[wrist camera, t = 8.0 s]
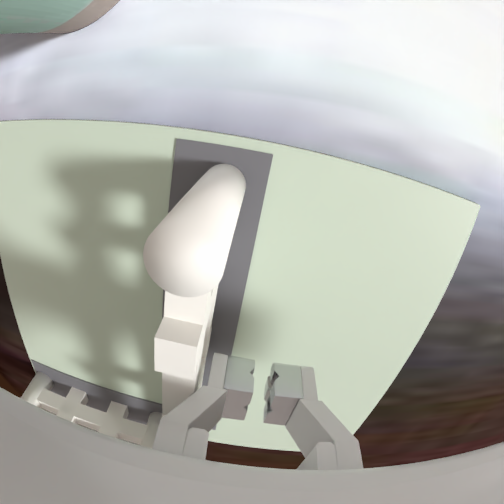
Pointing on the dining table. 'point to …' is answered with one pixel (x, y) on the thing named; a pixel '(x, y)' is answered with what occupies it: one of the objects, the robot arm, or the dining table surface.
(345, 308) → the card
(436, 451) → the dining table surface
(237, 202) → the white toy fence
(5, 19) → the coffee cup
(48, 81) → the dining table surface
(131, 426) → the fence fixed
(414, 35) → the dining table surface
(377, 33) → the dining table surface
